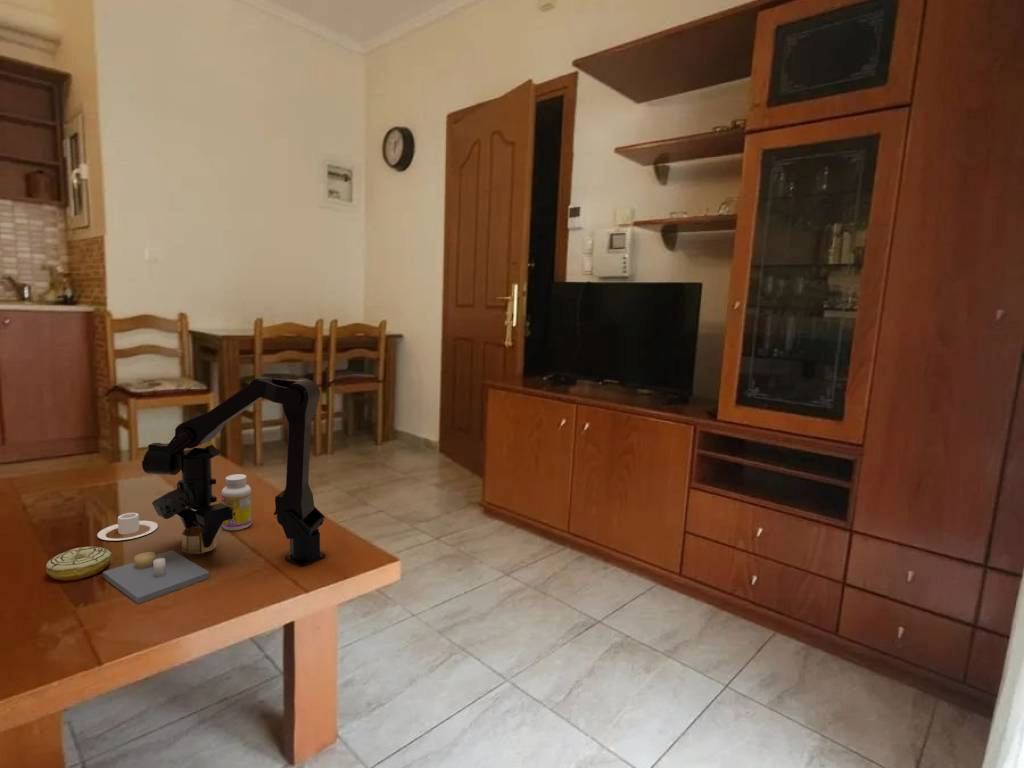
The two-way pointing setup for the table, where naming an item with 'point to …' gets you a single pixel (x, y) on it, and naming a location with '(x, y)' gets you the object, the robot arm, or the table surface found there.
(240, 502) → the supplement bottle
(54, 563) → the decorated donut
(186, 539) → the octagonal wooden tube
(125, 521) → the candle holder
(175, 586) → the carrier board
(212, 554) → the table surface
